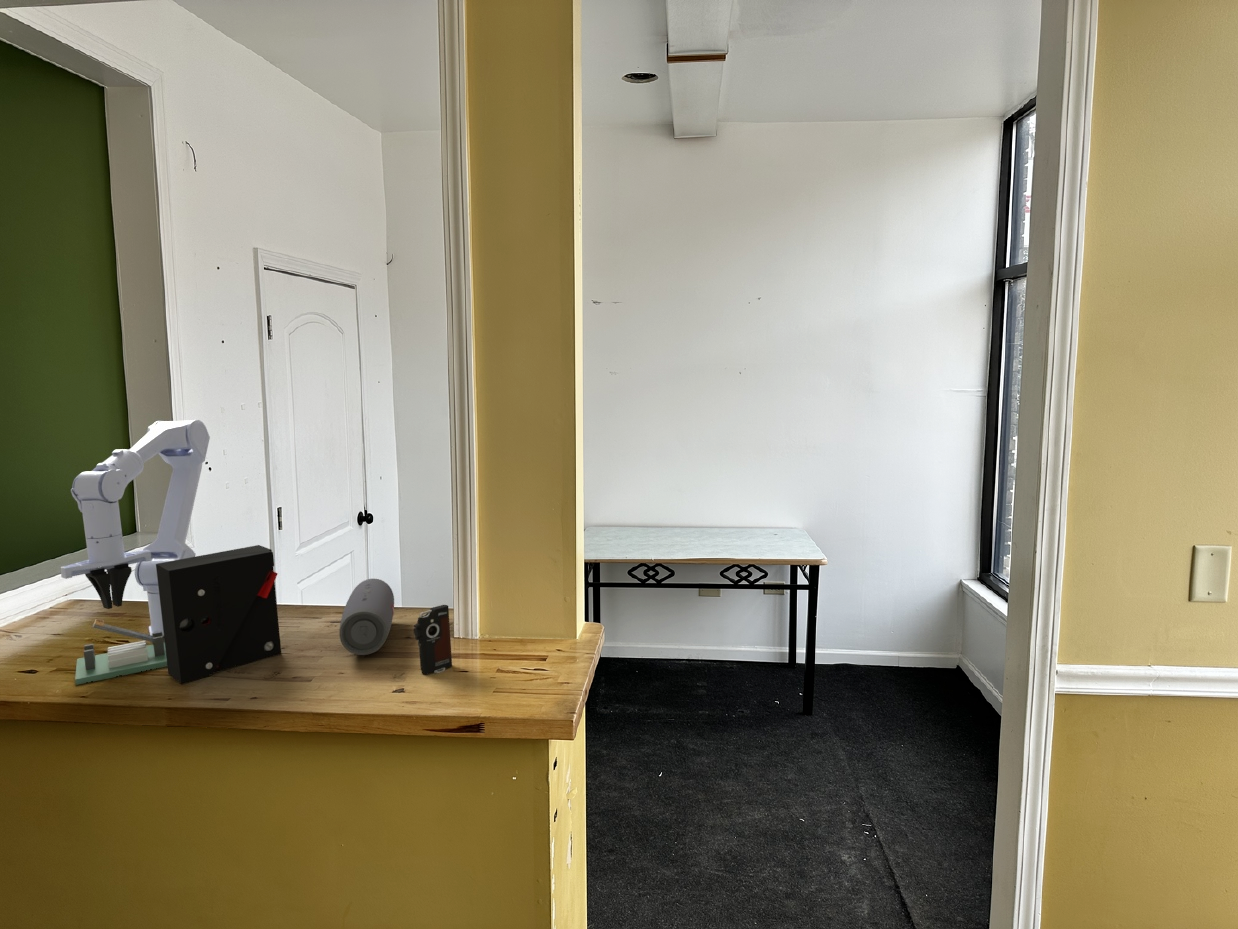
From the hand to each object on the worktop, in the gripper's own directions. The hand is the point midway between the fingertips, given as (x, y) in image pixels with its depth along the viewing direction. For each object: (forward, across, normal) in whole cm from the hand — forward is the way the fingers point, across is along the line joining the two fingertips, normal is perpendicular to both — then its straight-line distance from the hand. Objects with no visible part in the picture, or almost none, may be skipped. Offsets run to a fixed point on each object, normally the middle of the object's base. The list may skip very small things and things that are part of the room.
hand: (112, 606), depth 151 cm
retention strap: (+5, 0, +5) cm, 7 cm away
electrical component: (+10, -10, +21) cm, 25 cm away
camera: (+10, -27, +57) cm, 64 cm away
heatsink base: (+10, 0, +5) cm, 11 cm away
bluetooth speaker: (+10, -31, +34) cm, 47 cm away
